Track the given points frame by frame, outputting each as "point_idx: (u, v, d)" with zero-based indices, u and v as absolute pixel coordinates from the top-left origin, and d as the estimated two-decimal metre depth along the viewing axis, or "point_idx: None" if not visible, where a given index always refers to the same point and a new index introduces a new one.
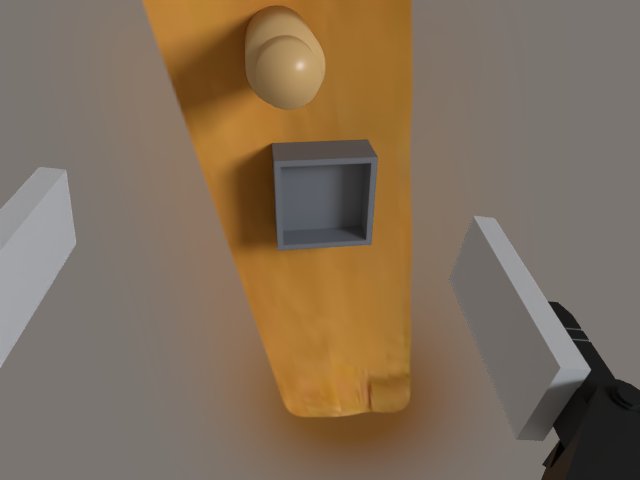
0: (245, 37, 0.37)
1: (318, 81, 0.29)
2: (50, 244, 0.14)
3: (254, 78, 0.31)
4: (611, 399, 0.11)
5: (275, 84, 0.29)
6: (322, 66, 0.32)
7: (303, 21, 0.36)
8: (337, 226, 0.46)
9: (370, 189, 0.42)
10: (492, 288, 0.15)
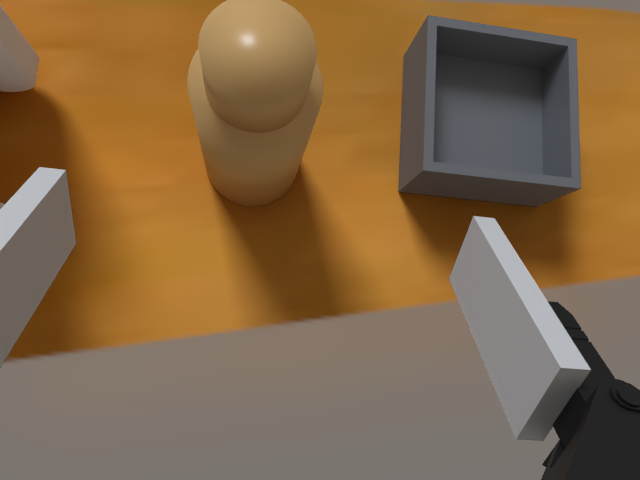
0: (237, 195, 0.25)
1: (272, 0, 0.17)
2: (50, 244, 0.14)
3: (269, 136, 0.18)
4: (611, 399, 0.11)
5: (268, 71, 0.16)
6: None
7: None
8: (539, 103, 0.29)
9: (480, 31, 0.26)
10: (492, 288, 0.15)
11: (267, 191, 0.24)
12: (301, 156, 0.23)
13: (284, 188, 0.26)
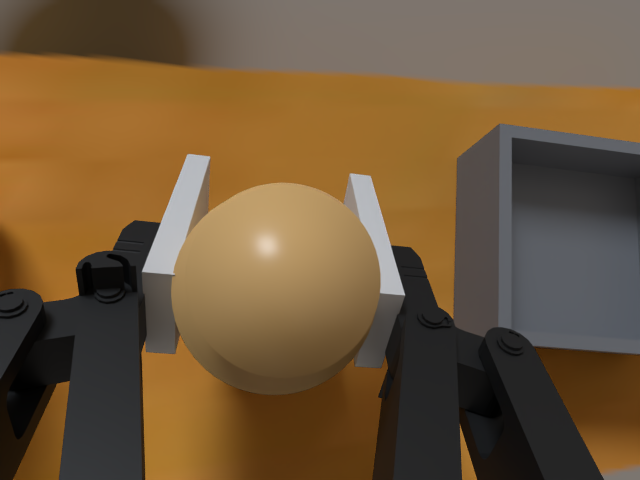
0: None
1: (307, 191, 0.10)
2: None
3: None
4: (419, 324, 0.12)
5: (302, 317, 0.10)
6: None
7: None
8: (634, 225, 0.22)
9: (568, 143, 0.20)
10: None
11: None
12: None
13: None
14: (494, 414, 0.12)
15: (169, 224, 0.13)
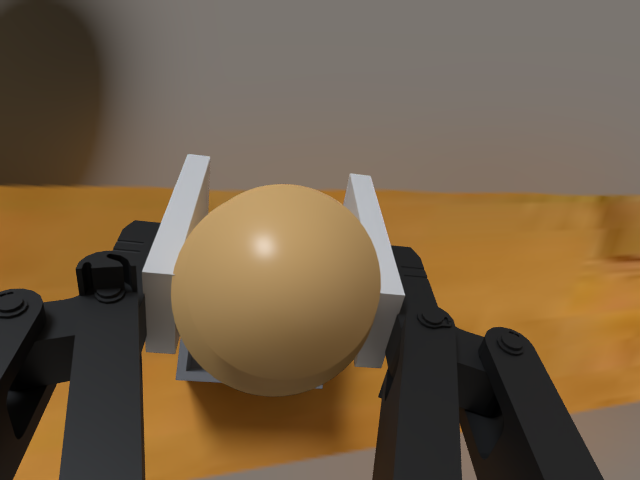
0: None
1: (307, 193, 0.10)
2: None
3: None
4: (419, 324, 0.12)
5: (302, 319, 0.10)
6: None
7: None
8: None
9: None
10: None
11: None
12: None
13: None
14: (494, 414, 0.12)
15: (169, 224, 0.13)
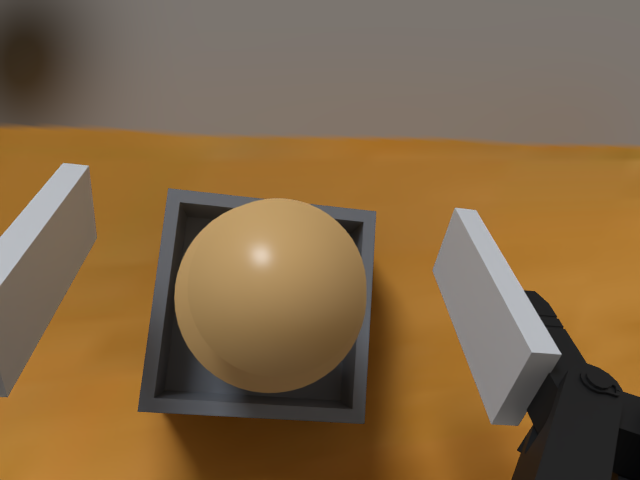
0: None
1: (299, 206, 0.11)
2: (74, 238, 0.15)
3: None
4: (581, 383, 0.11)
5: (294, 322, 0.11)
6: None
7: None
8: None
9: None
10: (471, 278, 0.15)
11: None
12: None
13: None
14: None
15: (3, 247, 0.12)
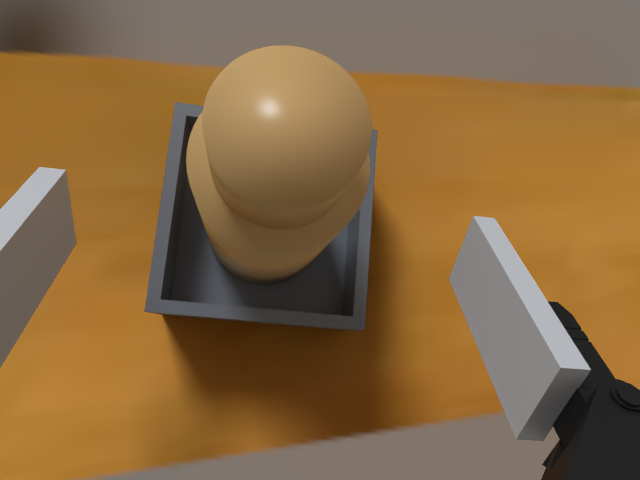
0: (247, 277, 0.20)
1: (308, 54, 0.12)
2: (50, 244, 0.14)
3: (297, 234, 0.13)
4: (611, 399, 0.11)
5: (303, 157, 0.11)
6: None
7: None
8: None
9: None
10: (492, 288, 0.15)
11: (286, 275, 0.19)
12: None
13: (306, 266, 0.21)
14: None
15: None
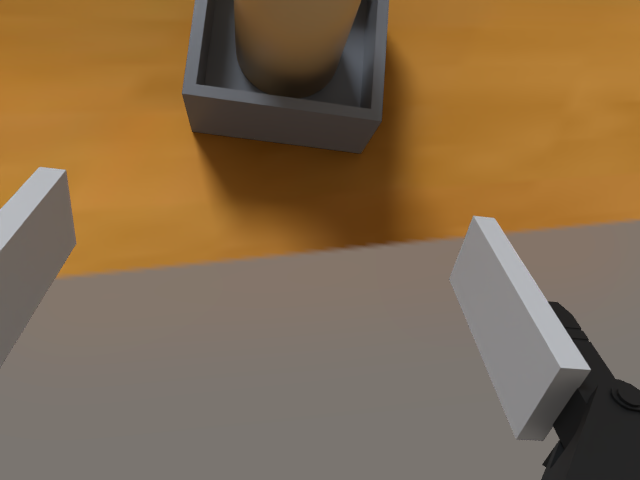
0: (273, 78, 0.22)
1: None
2: (50, 244, 0.14)
3: None
4: (611, 399, 0.11)
5: None
6: None
7: None
8: (362, 32, 0.25)
9: None
10: (492, 288, 0.15)
11: (310, 69, 0.21)
12: (353, 18, 0.20)
13: (327, 73, 0.23)
14: None
15: None
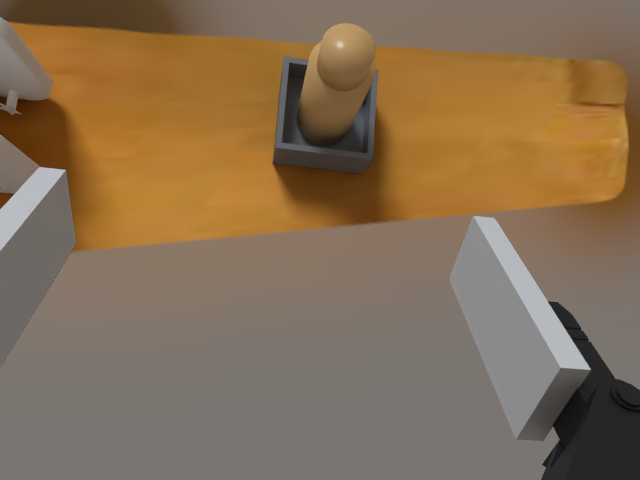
0: (319, 136, 0.43)
1: (353, 25, 0.35)
2: (50, 244, 0.14)
3: (349, 92, 0.37)
4: (611, 399, 0.11)
5: (354, 58, 0.34)
6: None
7: None
8: (362, 109, 0.46)
9: None
10: (492, 288, 0.15)
11: (338, 132, 0.43)
12: None
13: (345, 132, 0.44)
14: None
15: None
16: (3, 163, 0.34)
